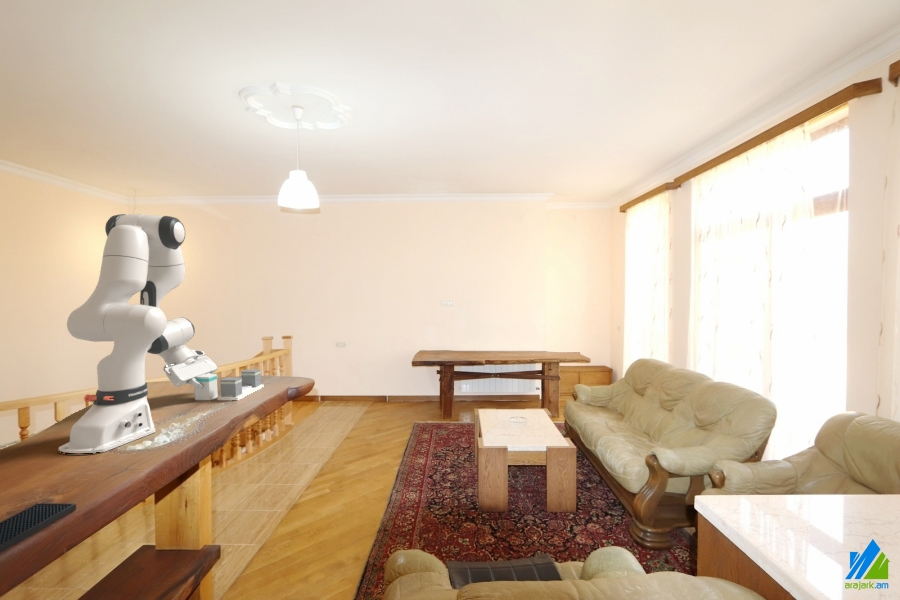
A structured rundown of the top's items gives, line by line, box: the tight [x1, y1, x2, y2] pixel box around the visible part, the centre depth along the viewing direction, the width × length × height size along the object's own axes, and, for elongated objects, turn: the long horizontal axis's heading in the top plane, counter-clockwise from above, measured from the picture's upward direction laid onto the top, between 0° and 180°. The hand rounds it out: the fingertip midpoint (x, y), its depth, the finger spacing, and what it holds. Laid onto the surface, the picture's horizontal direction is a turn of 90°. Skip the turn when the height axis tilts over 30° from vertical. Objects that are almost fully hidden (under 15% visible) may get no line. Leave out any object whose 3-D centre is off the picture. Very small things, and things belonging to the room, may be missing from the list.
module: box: [193, 373, 219, 401], centre depth 154 cm, size 5×6×9 cm
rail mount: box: [217, 368, 265, 401], centre depth 161 cm, size 18×8×8 cm, turn 175°
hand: (207, 385), depth 154 cm, fingers open, 5 cm apart
